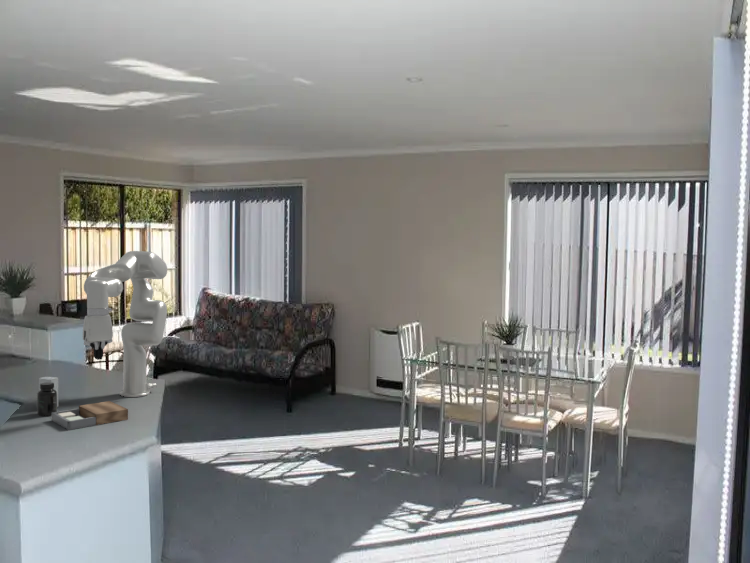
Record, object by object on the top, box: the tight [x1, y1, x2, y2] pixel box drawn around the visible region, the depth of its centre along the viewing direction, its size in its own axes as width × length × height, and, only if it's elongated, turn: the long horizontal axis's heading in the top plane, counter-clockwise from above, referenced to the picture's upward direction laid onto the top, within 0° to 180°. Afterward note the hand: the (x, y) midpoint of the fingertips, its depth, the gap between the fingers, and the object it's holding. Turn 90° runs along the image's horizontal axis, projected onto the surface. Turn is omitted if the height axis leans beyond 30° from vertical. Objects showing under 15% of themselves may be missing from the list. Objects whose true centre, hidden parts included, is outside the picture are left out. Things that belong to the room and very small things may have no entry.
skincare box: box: [38, 376, 59, 408], centre depth 262 cm, size 6×4×12 cm
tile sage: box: [66, 416, 84, 421], centre depth 239 cm, size 5×5×2 cm
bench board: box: [78, 400, 129, 426], centre depth 250 cm, size 12×16×4 cm
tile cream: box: [59, 412, 75, 418], centre depth 244 cm, size 5×5×2 cm
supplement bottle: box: [36, 382, 58, 417], centre depth 252 cm, size 7×7×12 cm
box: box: [51, 407, 97, 431], centre depth 242 cm, size 10×16×3 cm, turn 46°
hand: (98, 358), depth 253 cm, fingers closed
